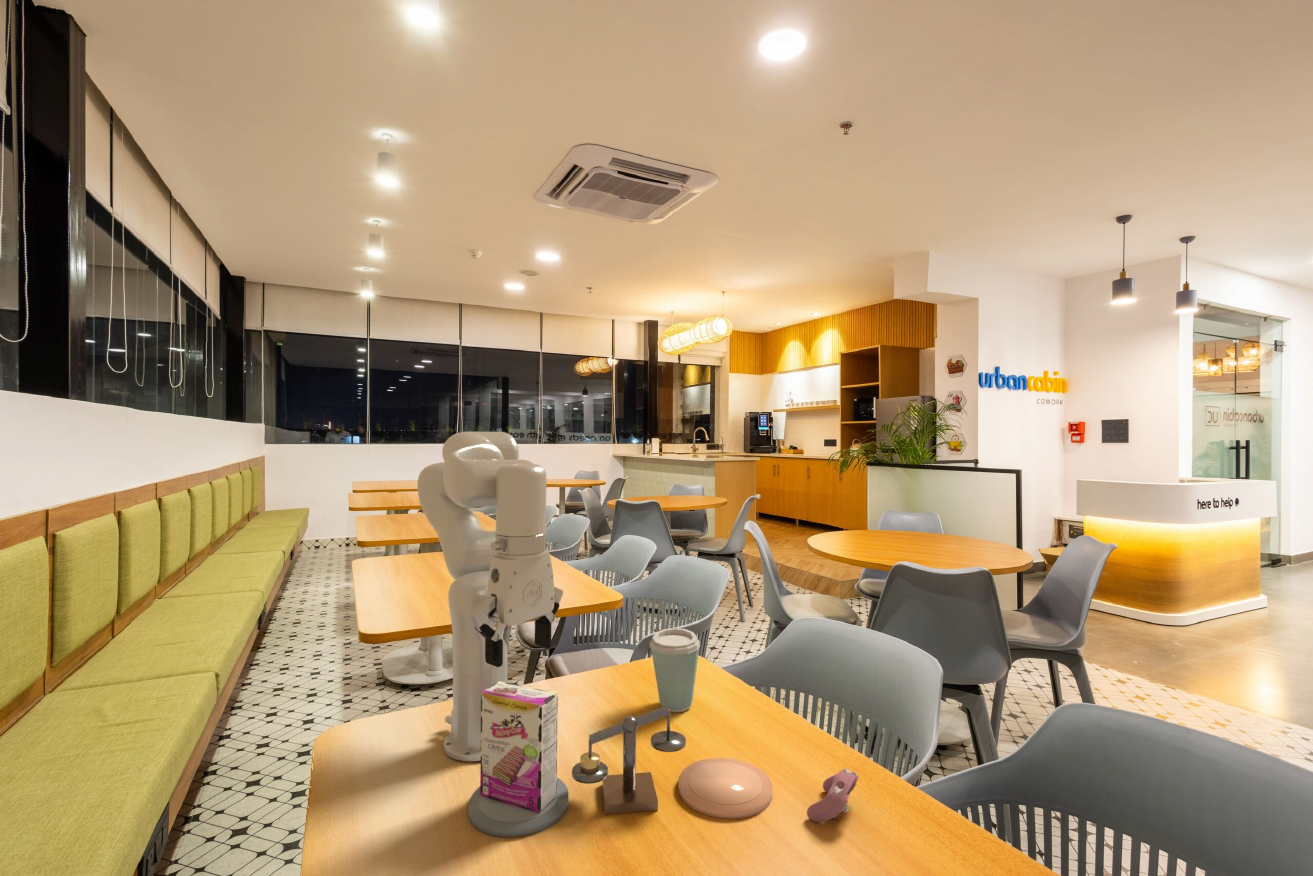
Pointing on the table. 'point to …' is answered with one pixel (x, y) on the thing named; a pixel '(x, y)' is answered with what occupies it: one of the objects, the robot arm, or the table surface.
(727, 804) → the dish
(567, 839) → the table surface
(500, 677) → the robot arm
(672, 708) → the disposable coffee cup
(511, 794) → the candy bar box
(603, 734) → the balance
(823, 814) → the pink curved piece
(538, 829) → the dish
